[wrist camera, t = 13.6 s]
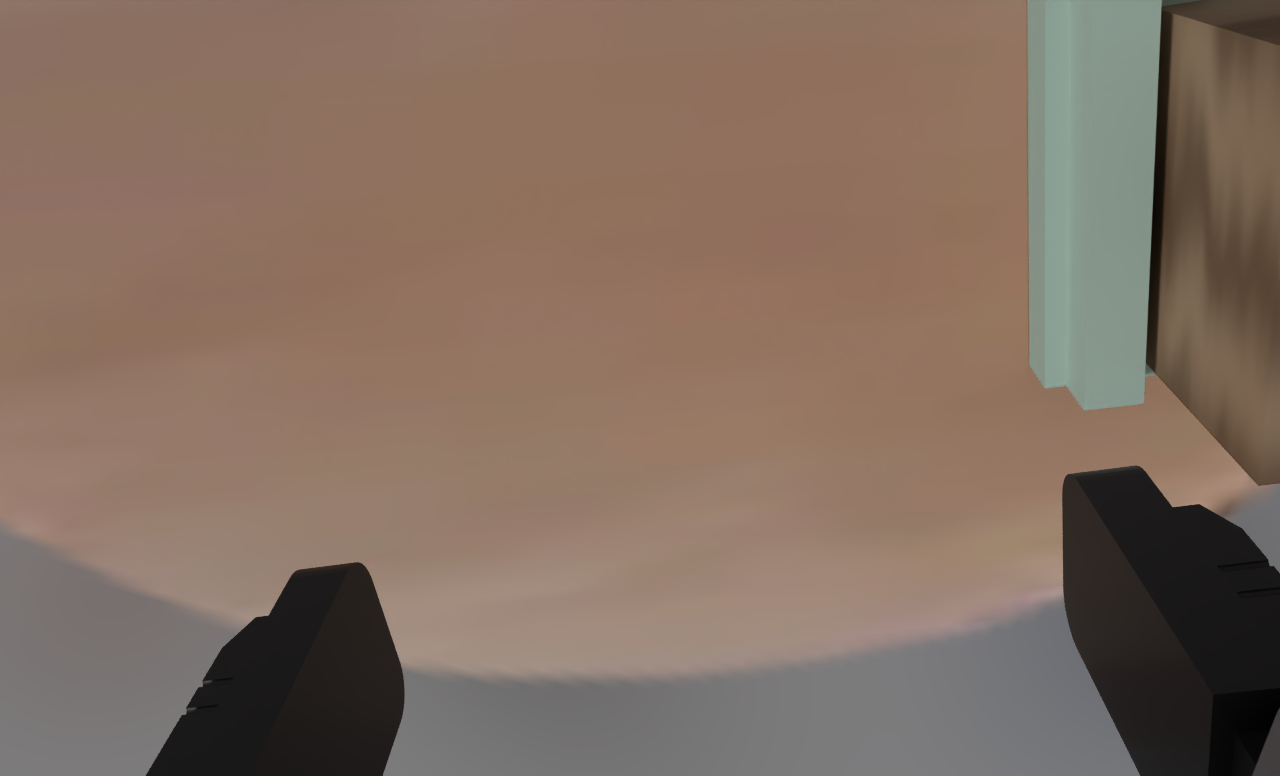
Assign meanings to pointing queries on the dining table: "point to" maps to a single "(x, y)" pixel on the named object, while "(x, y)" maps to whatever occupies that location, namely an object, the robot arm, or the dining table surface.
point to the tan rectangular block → (1219, 224)
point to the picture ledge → (1091, 193)
